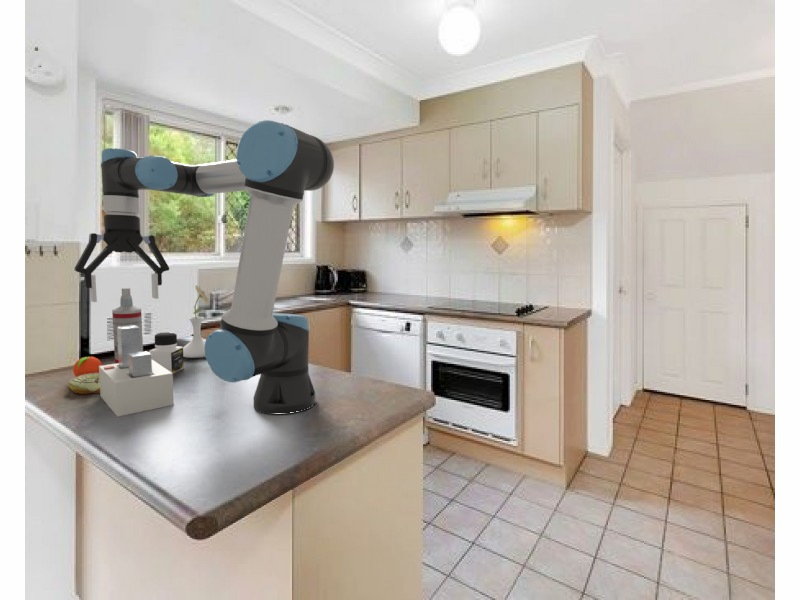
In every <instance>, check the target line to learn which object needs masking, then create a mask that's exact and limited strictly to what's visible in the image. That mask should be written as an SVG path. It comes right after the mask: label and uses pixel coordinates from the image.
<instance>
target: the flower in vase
mask: <svg viewBox="0 0 800 600" xmlns="http://www.w3.org/2000/svg"><path fill="white" fill-rule="evenodd" d="M194 287H195V290H196V292H197V294H198V297H197V299H196V300H195V304H194V306H193V309H194V311H193V315H194V316H191V317H188V320H189V321H190V323H191V325H192V330H193V332H192V333H193V336H192V339H191V341H189V342H188V343H187V344H186V345H184V346H182V347H183V358H188V359H200V358H206V356H205V342H206V340H204V339H203V338H202V336H201V327H202V323H203V321H204V319H205V317H204V316H197V314H199V313H200V312H201V311H202V309H200V308H199V307H198V308H197V307H196V306H197V303H198V301H199V299H201V300H202V301H203V302H204V303H205V304H207V305H210V303H211V302H210V301H209V297H208V296H207V295H206V294H205V293H206V292H205V291H204V290H203V289H201V286H200V285H198V284H196V285H195V286H194Z"/></svg>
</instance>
